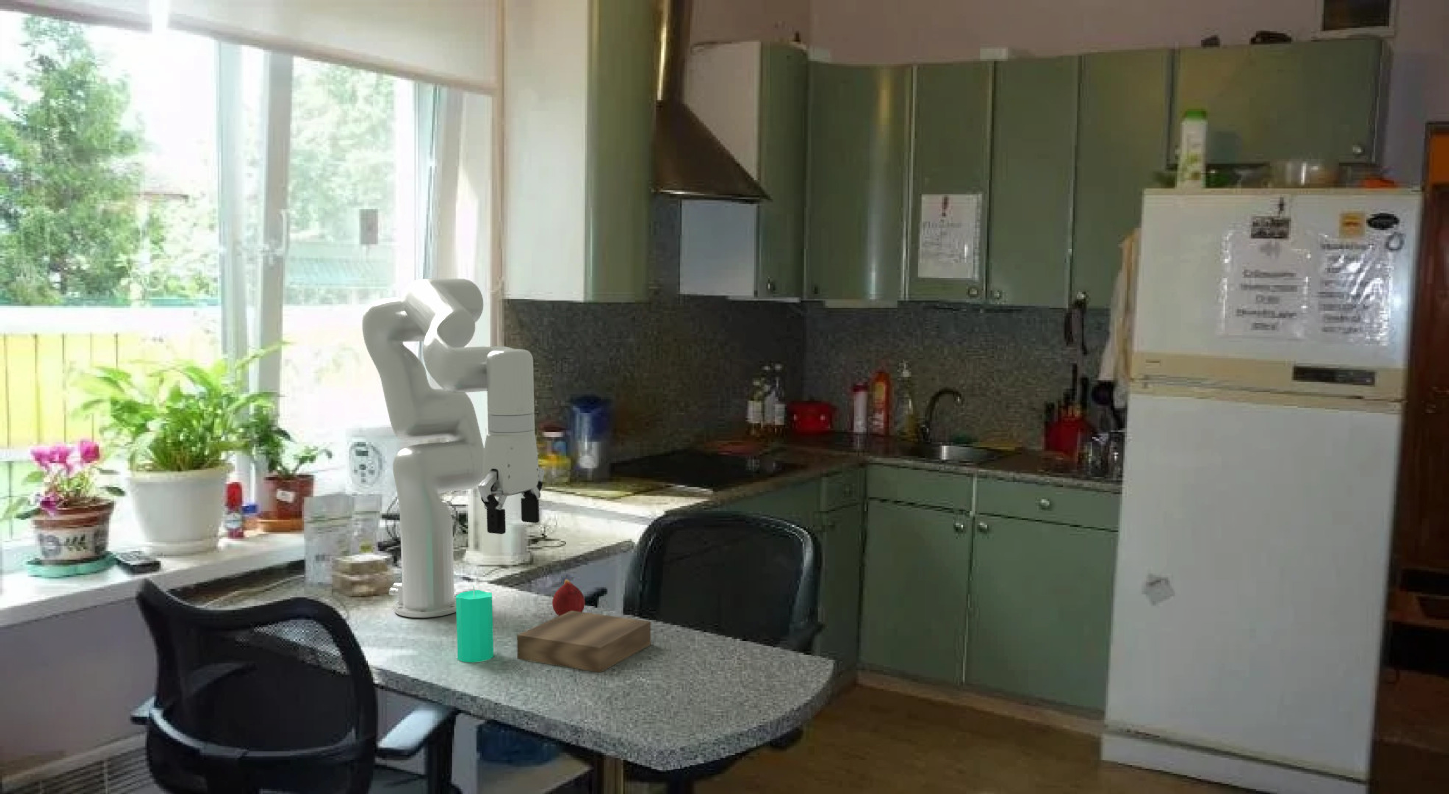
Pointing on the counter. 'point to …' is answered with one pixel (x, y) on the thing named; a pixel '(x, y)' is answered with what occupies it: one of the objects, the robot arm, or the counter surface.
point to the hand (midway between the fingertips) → (513, 527)
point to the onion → (568, 599)
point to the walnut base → (584, 640)
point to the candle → (474, 626)
